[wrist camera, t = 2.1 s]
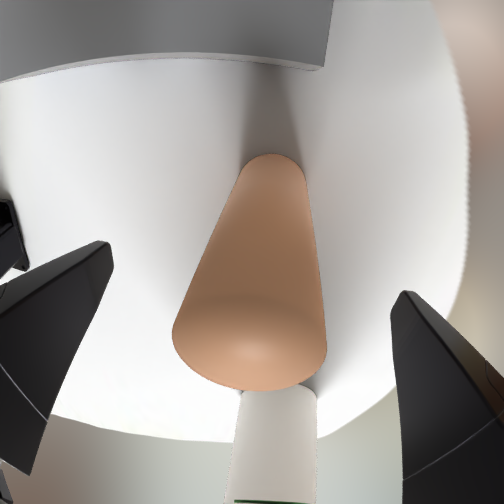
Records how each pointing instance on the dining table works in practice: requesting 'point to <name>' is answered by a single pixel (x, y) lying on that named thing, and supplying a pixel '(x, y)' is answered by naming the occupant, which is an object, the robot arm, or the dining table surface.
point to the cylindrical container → (274, 448)
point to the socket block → (159, 32)
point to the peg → (257, 286)
